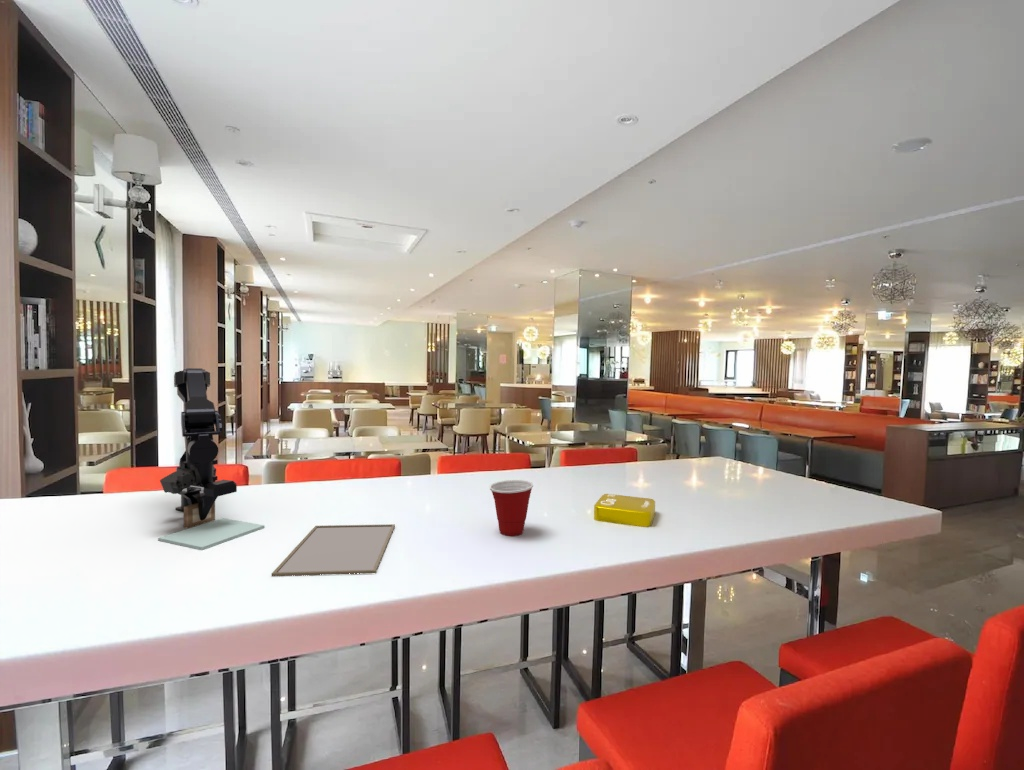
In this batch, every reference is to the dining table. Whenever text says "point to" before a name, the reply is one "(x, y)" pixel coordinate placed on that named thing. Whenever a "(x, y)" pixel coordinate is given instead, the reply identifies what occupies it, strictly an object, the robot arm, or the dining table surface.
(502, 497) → the plastic cup
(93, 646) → the dining table surface
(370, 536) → the picture frame
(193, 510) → the brown wooden block
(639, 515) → the element tile
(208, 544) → the mat
